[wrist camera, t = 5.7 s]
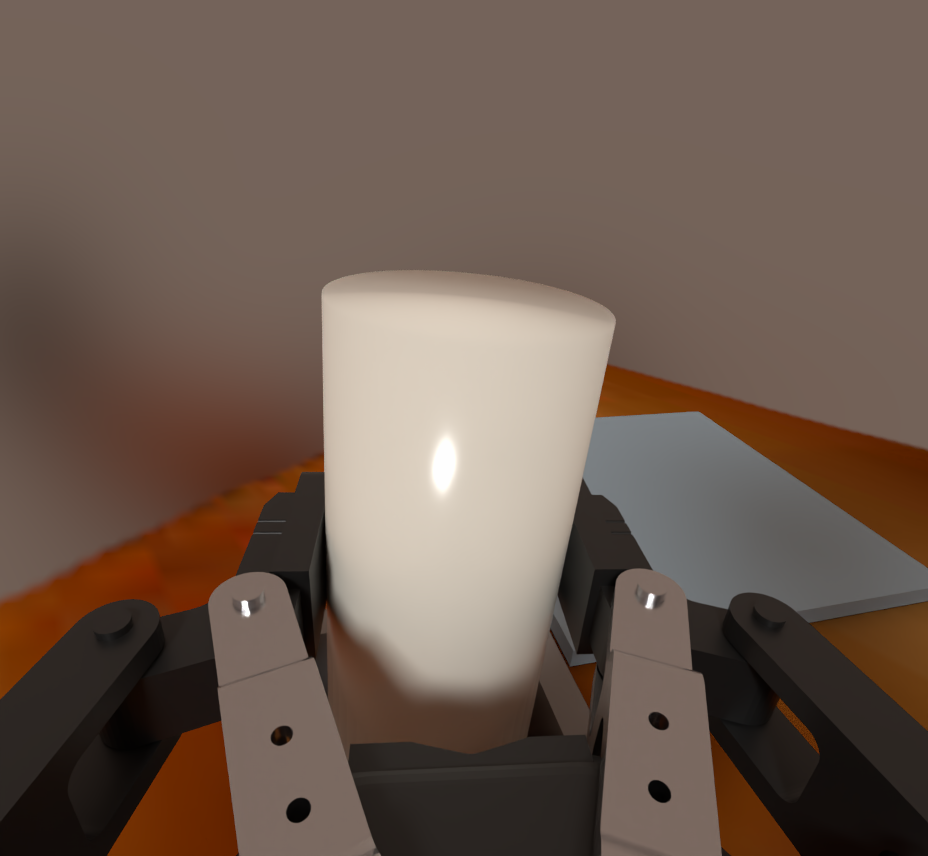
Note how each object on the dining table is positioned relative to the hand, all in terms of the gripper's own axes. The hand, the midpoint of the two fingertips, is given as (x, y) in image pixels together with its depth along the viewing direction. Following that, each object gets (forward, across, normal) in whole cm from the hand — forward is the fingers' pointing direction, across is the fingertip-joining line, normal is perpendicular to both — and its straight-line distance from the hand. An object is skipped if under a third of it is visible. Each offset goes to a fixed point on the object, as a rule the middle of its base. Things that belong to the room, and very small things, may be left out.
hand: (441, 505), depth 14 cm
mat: (+13, -12, +9) cm, 20 cm away
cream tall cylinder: (-2, 0, +8) cm, 9 cm away
